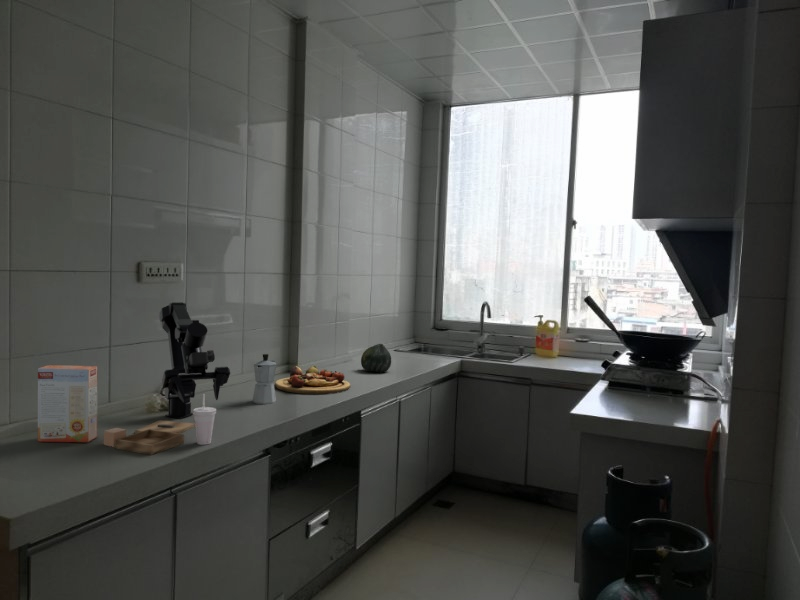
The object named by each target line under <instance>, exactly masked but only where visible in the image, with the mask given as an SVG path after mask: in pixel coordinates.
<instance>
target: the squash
mask: <svg viewBox="0 0 800 600" xmlns="http://www.w3.org/2000/svg"><path fill="white" fill-rule="evenodd" d="M360 358H361V359H360V363H361V364H360V365H361V367H362V369H363V370H365V371H367V372H378V373H380V372H382V373H385V372H384V371H386V372H387V371H388V370H389V369H390V368H391V366H392V356H391V353H390V351H389V350H388V349H387V348H386V346H385V345H384V344H383V343H377V344H374V345H372V346H370V347H368V348H366V349H364V352H362V355H361V357H360Z"/></svg>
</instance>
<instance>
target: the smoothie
mask: <svg viewBox="0 0 800 600" xmlns="http://www.w3.org/2000/svg"><path fill="white" fill-rule="evenodd" d="M205 398H206V394H205V393H202V406H200V407H196V408H193V410H192V413H193V419H194V424H195V426H194V427H195V435H196V444H197V445H201V446H203V445H209V444H211V443H212V436H213V430H214V423H215V416H216V414H217V408H216V407H211V406H206V403H205V402H206V399H205Z"/></svg>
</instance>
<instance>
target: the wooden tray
mask: <svg viewBox="0 0 800 600" xmlns="http://www.w3.org/2000/svg"><path fill="white" fill-rule="evenodd" d="M184 439H185V434H183V433H180V434H178V433H172V432H166V431H160V430H153V429H147V430H144V431H141V432H138V433H131V434H129V435H126V436H125V437H122V438H119V439H116V447H115V449H116V450H123V451H127V452H133V453H136V454H137V453H139V454H144V455H147V456H148V455H149V456H152V455H156V454H158V453H161V452H164V451H166V450H169V449H171V448H174V447H178V446H180V445H182V444H184V443H185V440H184Z"/></svg>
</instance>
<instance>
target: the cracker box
mask: <svg viewBox="0 0 800 600" xmlns="http://www.w3.org/2000/svg"><path fill="white" fill-rule="evenodd" d="M97 437H98V366H97V365H95V366H93V365H65V364H64V365H63V364H61V365H58V364H57V365H53V364H52V365H50V364H48V365H45V366H41V367H39V368H37V442H41V443H42V442H45V443H48V442H49V443H50V442H51V443H55V442H56V443H89V442H90V441H93V440H94V439H96V438H97Z"/></svg>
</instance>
